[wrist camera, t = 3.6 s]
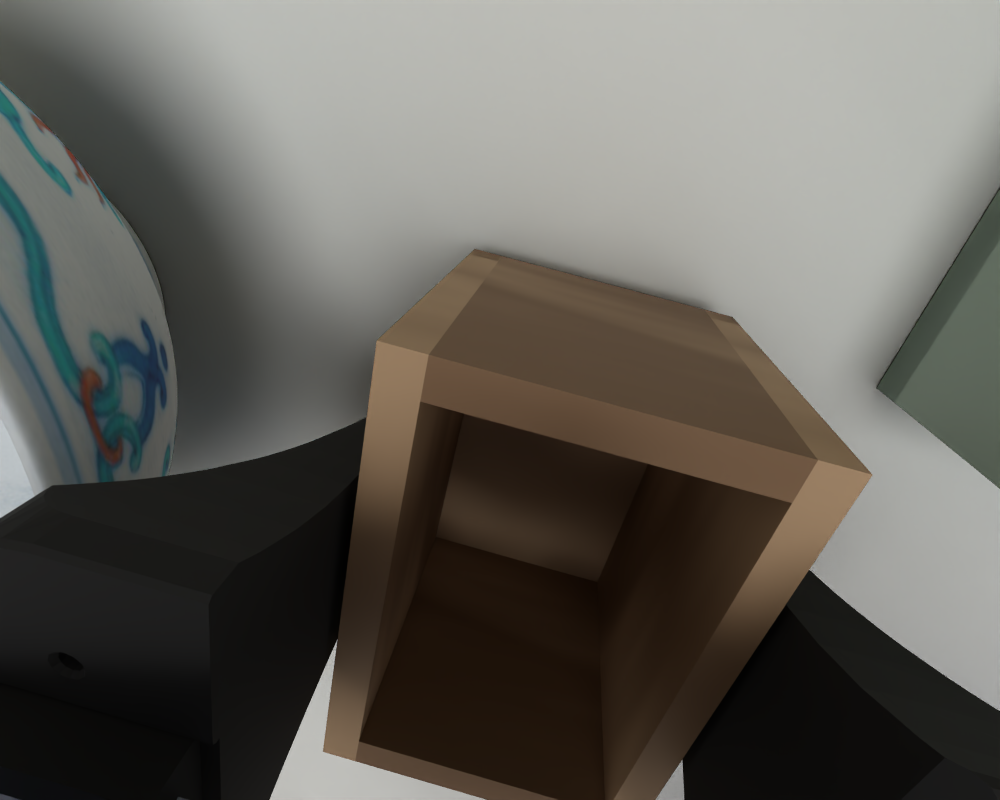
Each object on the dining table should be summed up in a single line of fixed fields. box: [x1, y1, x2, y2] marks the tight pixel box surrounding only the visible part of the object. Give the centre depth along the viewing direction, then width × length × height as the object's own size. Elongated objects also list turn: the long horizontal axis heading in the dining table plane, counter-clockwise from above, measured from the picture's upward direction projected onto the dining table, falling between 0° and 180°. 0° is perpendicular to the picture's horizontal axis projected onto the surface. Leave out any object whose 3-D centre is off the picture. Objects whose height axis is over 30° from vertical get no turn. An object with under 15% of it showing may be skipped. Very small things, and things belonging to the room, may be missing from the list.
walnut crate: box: [323, 249, 872, 800], centre depth 10 cm, size 8×6×6 cm
